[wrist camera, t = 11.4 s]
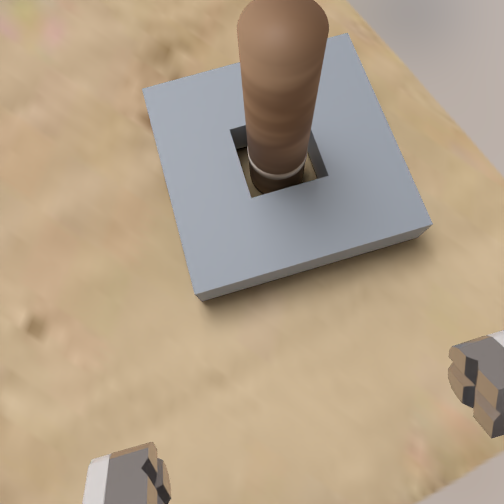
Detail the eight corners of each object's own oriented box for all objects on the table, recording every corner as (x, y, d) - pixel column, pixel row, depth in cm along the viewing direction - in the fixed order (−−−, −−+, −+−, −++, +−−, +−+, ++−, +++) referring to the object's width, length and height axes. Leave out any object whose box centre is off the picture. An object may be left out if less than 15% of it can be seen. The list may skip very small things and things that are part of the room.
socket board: (202, 301, 25) (194, 294, 22) (152, 111, 29) (141, 89, 26) (417, 237, 25) (433, 224, 23) (341, 60, 29) (347, 32, 27)
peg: (258, 202, 27) (251, 77, 15) (243, 156, 27) (225, 4, 16) (310, 187, 27) (342, 52, 15) (293, 141, 28) (311, -19, 16)
